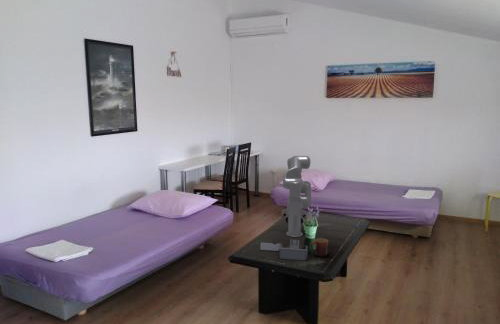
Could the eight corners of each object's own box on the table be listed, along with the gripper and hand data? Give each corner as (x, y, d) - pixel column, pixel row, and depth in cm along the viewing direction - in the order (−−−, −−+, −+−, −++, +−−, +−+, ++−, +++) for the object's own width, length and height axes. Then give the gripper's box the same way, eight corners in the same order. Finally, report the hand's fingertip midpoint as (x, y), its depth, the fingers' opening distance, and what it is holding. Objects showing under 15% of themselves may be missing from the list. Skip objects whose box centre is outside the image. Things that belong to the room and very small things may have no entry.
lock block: (290, 247, 281) (290, 239, 280) (298, 248, 280) (299, 239, 279) (289, 251, 274) (289, 243, 273) (298, 252, 273) (298, 243, 272)
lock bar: (260, 248, 278) (261, 240, 277) (280, 249, 275) (280, 242, 274) (260, 249, 276) (260, 241, 275) (279, 251, 273) (280, 243, 272)
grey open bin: (280, 252, 273) (280, 242, 272) (307, 253, 270) (307, 244, 268) (278, 258, 262) (278, 248, 260) (306, 260, 258) (306, 250, 257)
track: (259, 248, 278) (259, 248, 278) (280, 250, 276) (280, 250, 276) (259, 250, 275) (259, 250, 275) (279, 251, 273) (279, 251, 273)
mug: (324, 252, 273) (325, 238, 271) (329, 257, 264) (330, 242, 262) (308, 253, 270) (308, 239, 269) (312, 258, 262) (313, 243, 260)
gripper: (307, 198, 271) (307, 222, 274) (282, 196, 274) (282, 220, 277) (307, 201, 263) (306, 225, 266) (281, 199, 267) (281, 224, 269)
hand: (294, 223), depth 271 cm, fingers open, 9 cm apart
